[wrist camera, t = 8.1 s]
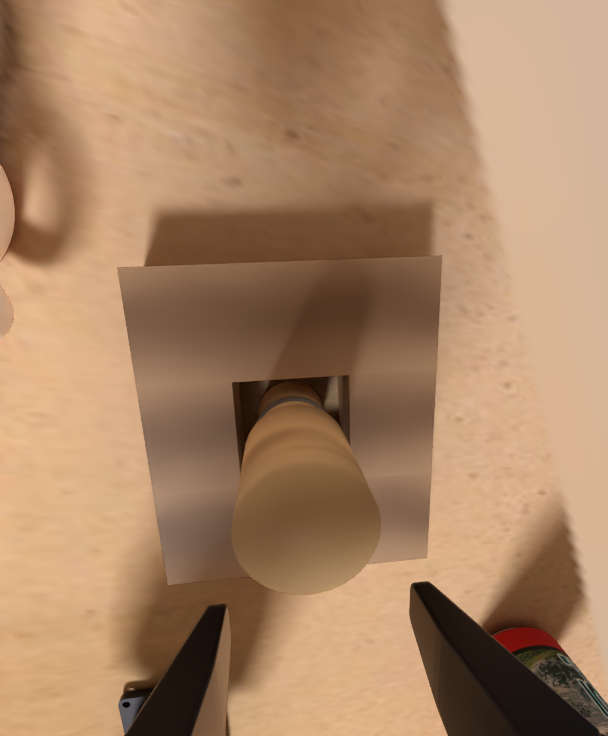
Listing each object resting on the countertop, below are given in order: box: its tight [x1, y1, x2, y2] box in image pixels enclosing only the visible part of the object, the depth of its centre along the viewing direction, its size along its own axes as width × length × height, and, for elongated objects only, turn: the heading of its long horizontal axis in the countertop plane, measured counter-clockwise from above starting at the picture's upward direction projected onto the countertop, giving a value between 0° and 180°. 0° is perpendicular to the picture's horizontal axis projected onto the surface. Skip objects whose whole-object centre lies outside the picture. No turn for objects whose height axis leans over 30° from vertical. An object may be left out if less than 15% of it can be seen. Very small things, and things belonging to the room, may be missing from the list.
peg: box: [231, 381, 381, 595], centre depth 15 cm, size 4×4×10 cm
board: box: [117, 256, 442, 585], centre depth 18 cm, size 16×14×3 cm
